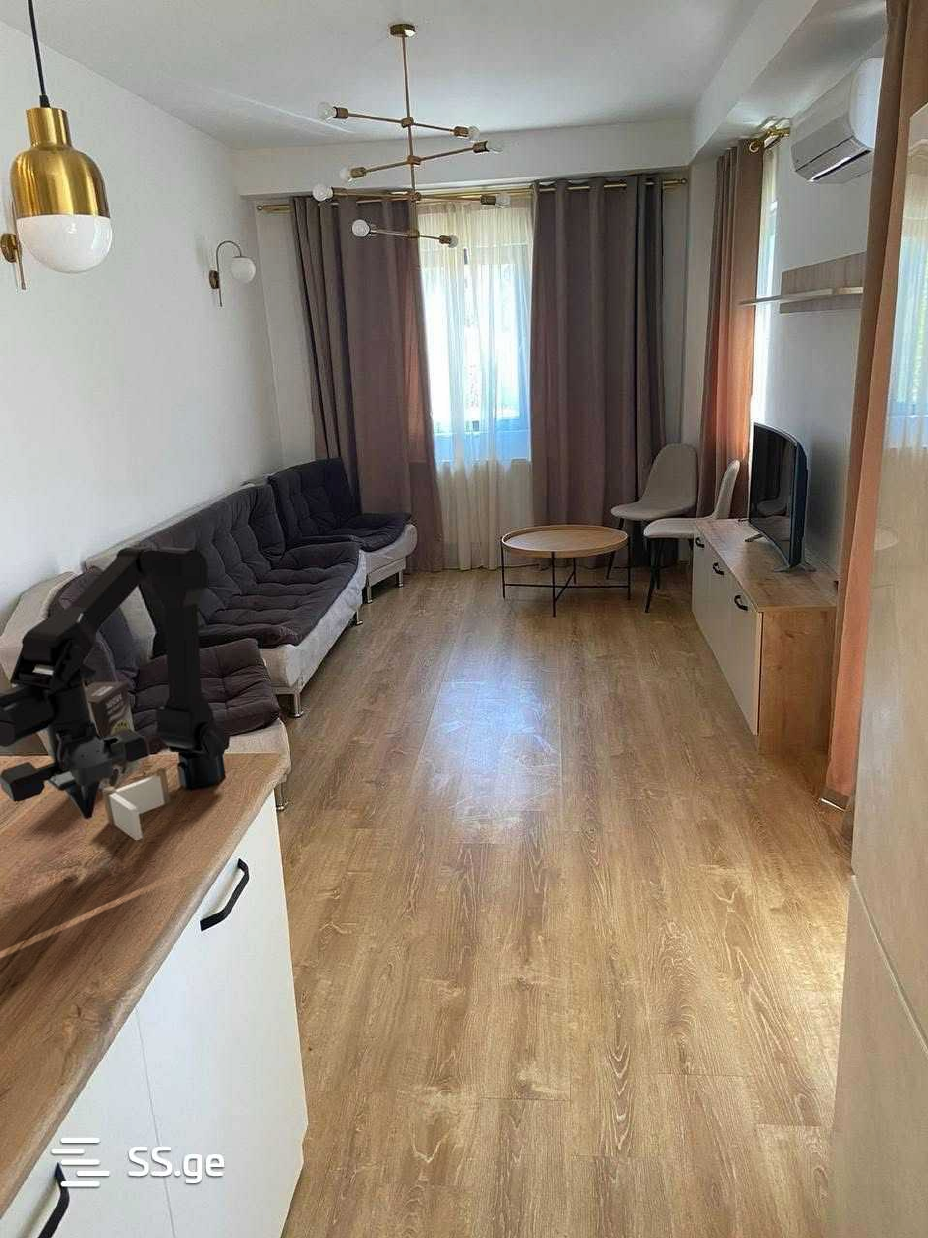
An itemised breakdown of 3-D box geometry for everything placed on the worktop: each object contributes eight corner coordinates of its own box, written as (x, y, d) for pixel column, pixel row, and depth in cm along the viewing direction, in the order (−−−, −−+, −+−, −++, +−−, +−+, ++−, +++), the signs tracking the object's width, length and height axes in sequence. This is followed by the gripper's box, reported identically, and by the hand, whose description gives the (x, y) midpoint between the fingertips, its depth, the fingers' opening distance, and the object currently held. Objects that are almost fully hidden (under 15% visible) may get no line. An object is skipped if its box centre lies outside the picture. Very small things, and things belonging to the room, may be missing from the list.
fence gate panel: (114, 825, 138) (109, 795, 137) (121, 822, 139) (115, 792, 137) (136, 840, 133) (130, 810, 132) (142, 838, 134) (137, 807, 133)
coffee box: (114, 793, 150) (97, 702, 145) (78, 791, 151) (60, 701, 146) (142, 767, 158) (127, 680, 153) (109, 766, 160) (92, 680, 155)
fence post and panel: (167, 800, 146) (162, 767, 144) (173, 803, 144) (167, 770, 143) (106, 823, 139) (100, 789, 138) (111, 828, 138) (105, 793, 136)
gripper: (15, 756, 113) (39, 867, 118) (158, 710, 125) (175, 812, 129) (-13, 731, 121) (11, 836, 126) (124, 690, 133) (141, 787, 137)
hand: (87, 817), depth 129 cm, fingers closed
